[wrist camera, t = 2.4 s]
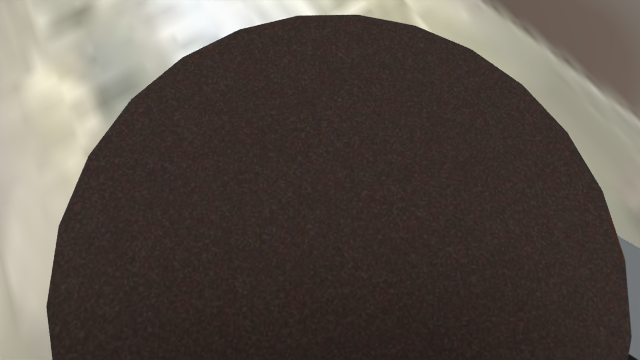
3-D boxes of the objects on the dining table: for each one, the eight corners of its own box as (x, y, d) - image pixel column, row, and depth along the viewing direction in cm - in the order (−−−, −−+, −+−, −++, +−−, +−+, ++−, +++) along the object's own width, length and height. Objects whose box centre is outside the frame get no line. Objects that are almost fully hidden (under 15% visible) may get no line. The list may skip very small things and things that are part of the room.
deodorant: (390, 286, 18) (733, 267, 4) (303, 373, 17) (333, 872, 2) (314, 202, 19) (358, -55, 5) (226, 277, 18) (-68, 218, 3)
